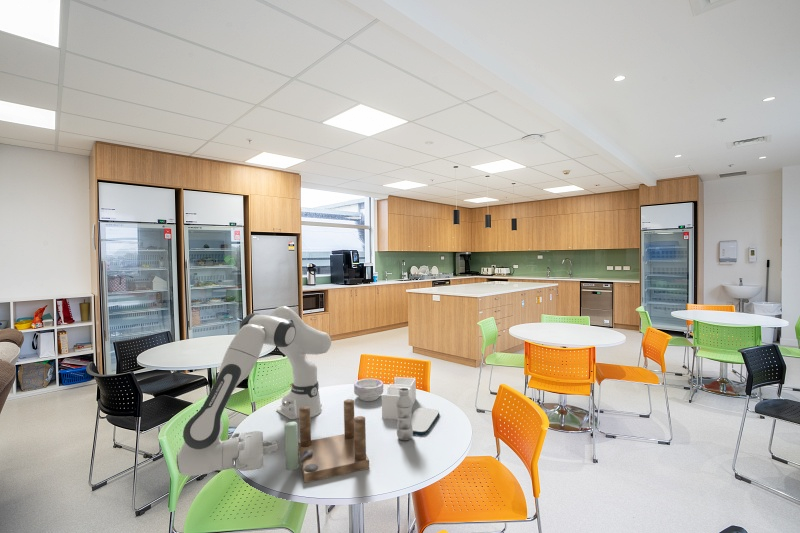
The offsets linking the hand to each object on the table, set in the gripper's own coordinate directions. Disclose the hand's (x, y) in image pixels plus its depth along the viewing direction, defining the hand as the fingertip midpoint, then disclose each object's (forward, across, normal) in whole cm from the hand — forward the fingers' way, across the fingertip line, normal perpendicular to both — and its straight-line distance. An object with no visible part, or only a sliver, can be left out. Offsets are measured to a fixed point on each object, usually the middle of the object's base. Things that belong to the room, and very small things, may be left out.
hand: (277, 445), depth 129 cm
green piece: (+7, -1, +6) cm, 10 cm away
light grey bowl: (+48, +54, +10) cm, 72 cm away
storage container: (+58, +35, +10) cm, 68 cm away
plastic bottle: (+49, +6, +10) cm, 50 cm away
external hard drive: (+61, +17, +10) cm, 64 cm away
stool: (+19, +2, +10) cm, 21 cm away
